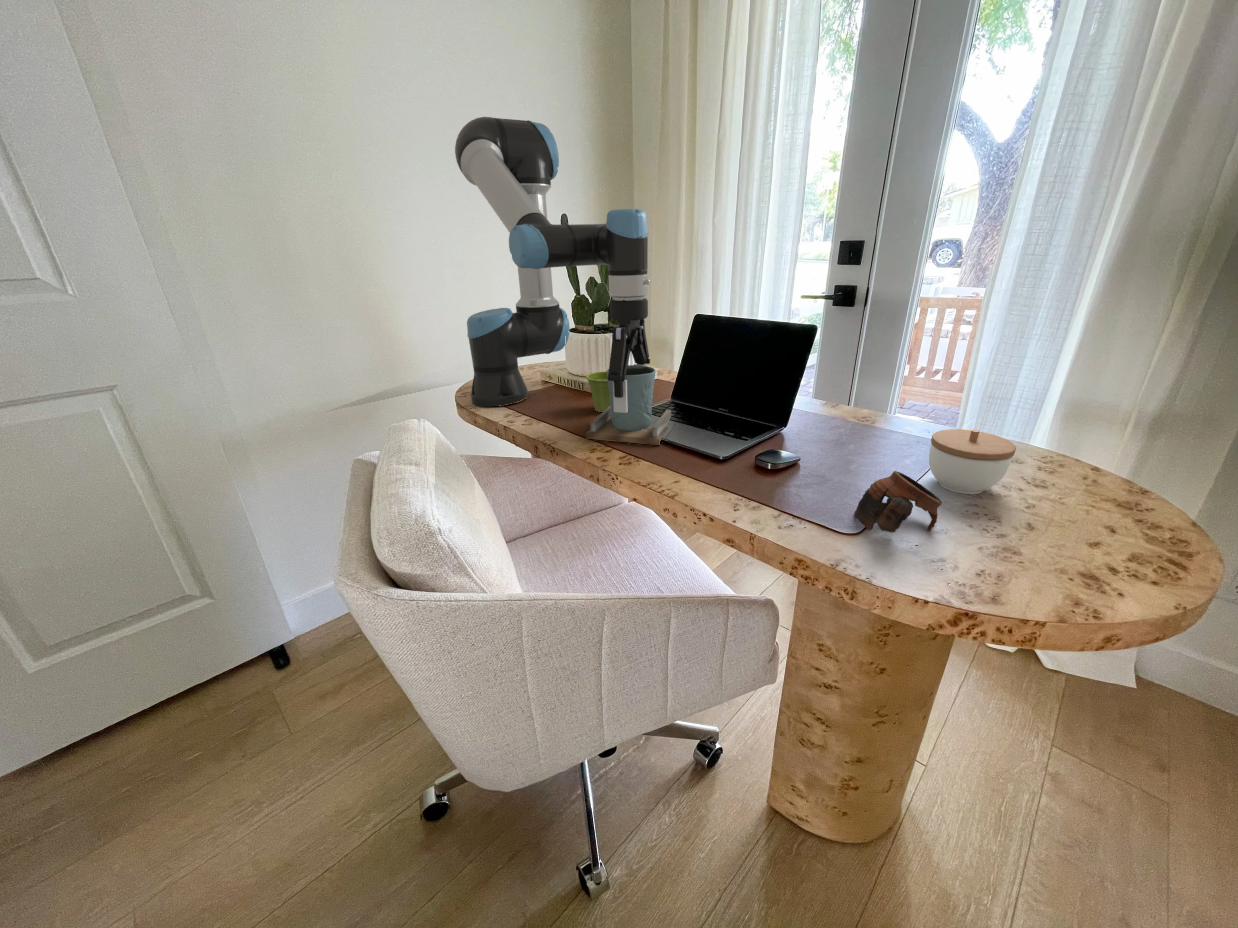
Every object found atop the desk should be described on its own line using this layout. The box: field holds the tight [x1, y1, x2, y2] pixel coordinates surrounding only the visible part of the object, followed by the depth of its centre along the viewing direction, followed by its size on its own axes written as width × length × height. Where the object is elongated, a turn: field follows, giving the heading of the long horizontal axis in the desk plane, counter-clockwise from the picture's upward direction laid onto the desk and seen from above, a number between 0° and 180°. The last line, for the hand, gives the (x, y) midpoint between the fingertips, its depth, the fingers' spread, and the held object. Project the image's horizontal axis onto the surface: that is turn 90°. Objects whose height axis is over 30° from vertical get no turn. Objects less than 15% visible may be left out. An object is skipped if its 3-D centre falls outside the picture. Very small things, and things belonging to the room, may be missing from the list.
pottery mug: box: [854, 470, 943, 533], centre depth 67 cm, size 12×10×8 cm
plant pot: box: [585, 370, 610, 411], centre depth 120 cm, size 9×9×9 cm
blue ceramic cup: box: [606, 364, 656, 431], centre depth 104 cm, size 10×10×12 cm
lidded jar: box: [928, 428, 1017, 495], centre depth 77 cm, size 11×11×9 cm
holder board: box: [585, 406, 672, 446], centre depth 106 cm, size 16×14×4 cm
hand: (630, 402), depth 105 cm, fingers open, 13 cm apart
